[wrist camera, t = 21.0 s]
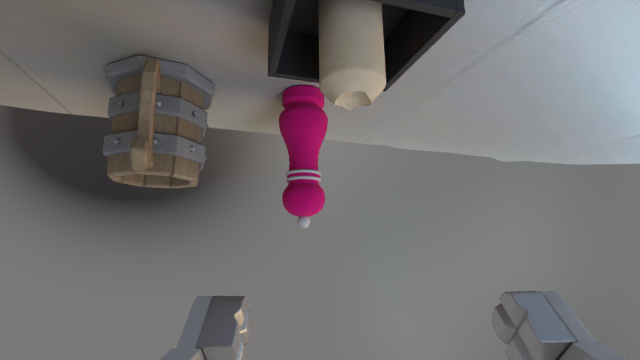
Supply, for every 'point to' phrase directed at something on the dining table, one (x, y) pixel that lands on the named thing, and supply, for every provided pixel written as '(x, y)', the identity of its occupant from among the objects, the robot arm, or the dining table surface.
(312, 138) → the pepper mill
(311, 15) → the box
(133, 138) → the tankard
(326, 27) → the candle
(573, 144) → the dining table surface
